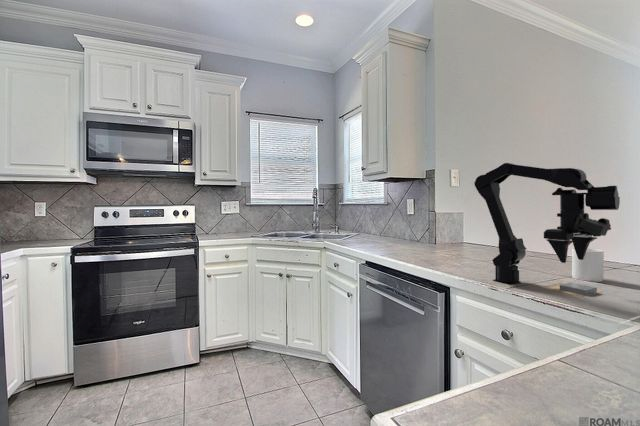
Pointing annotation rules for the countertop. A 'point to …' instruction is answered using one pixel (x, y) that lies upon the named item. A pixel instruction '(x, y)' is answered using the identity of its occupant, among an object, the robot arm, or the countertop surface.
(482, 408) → the countertop surface
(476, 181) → the robot arm
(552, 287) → the cork mat
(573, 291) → the slate tile
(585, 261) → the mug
